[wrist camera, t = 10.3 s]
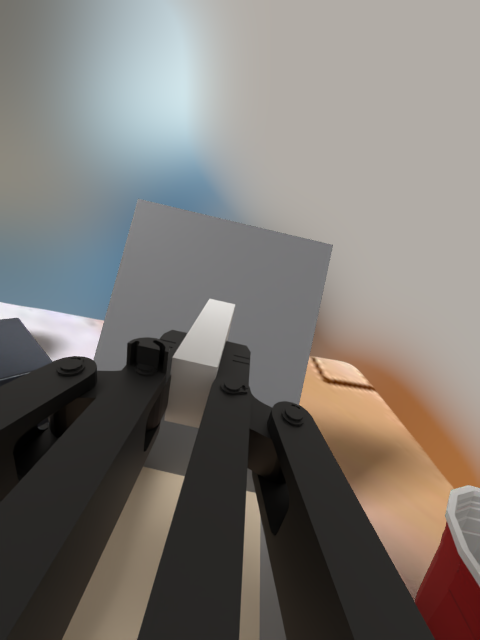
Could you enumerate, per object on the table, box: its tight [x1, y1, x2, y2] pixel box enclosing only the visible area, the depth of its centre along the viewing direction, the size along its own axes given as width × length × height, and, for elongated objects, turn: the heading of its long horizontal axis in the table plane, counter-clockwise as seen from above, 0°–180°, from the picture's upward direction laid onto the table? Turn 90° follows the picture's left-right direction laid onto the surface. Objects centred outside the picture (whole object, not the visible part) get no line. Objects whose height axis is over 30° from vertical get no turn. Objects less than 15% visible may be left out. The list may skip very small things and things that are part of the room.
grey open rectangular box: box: [62, 413, 286, 640], centre depth 15 cm, size 18×17×8 cm
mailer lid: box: [93, 199, 333, 408], centre depth 23 cm, size 18×17×1 cm
